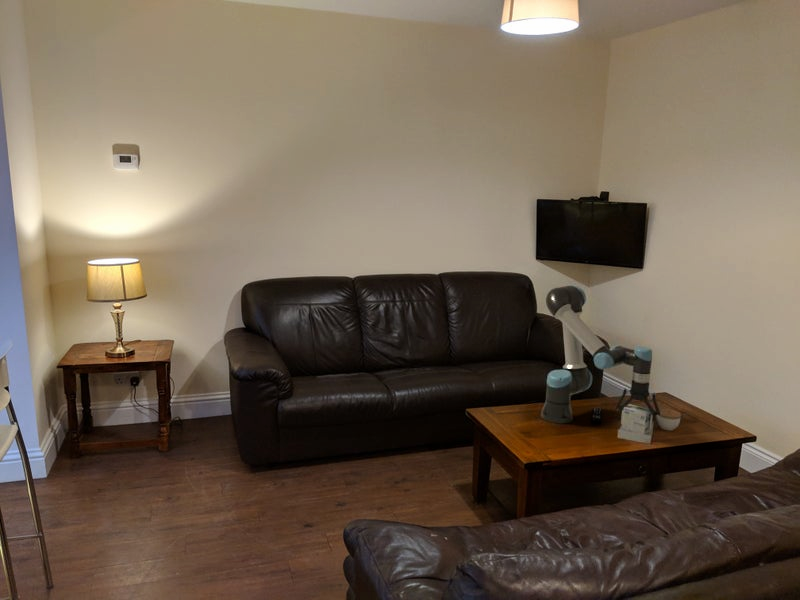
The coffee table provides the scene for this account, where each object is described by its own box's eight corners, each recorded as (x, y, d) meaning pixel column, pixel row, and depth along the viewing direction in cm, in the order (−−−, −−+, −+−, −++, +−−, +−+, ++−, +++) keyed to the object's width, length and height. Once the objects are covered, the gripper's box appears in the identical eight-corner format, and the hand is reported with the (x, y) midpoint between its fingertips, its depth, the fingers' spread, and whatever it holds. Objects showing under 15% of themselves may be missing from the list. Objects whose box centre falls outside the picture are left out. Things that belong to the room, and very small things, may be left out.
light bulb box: (649, 431, 278) (652, 409, 276) (644, 435, 273) (646, 413, 271) (627, 424, 285) (629, 403, 283) (621, 428, 280) (623, 406, 278)
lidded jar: (681, 433, 282) (684, 414, 280) (657, 431, 284) (659, 412, 282) (676, 424, 292) (678, 406, 290) (653, 422, 294) (655, 404, 292)
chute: (617, 437, 276) (618, 429, 275) (621, 426, 289) (622, 418, 289) (650, 443, 270) (651, 436, 269) (652, 431, 283) (653, 424, 282)
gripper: (612, 378, 276) (608, 423, 281) (668, 387, 266) (663, 433, 270) (614, 374, 283) (610, 417, 287) (669, 382, 273) (664, 427, 277)
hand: (636, 425), depth 279 cm, fingers closed on light bulb box, 12 cm apart
